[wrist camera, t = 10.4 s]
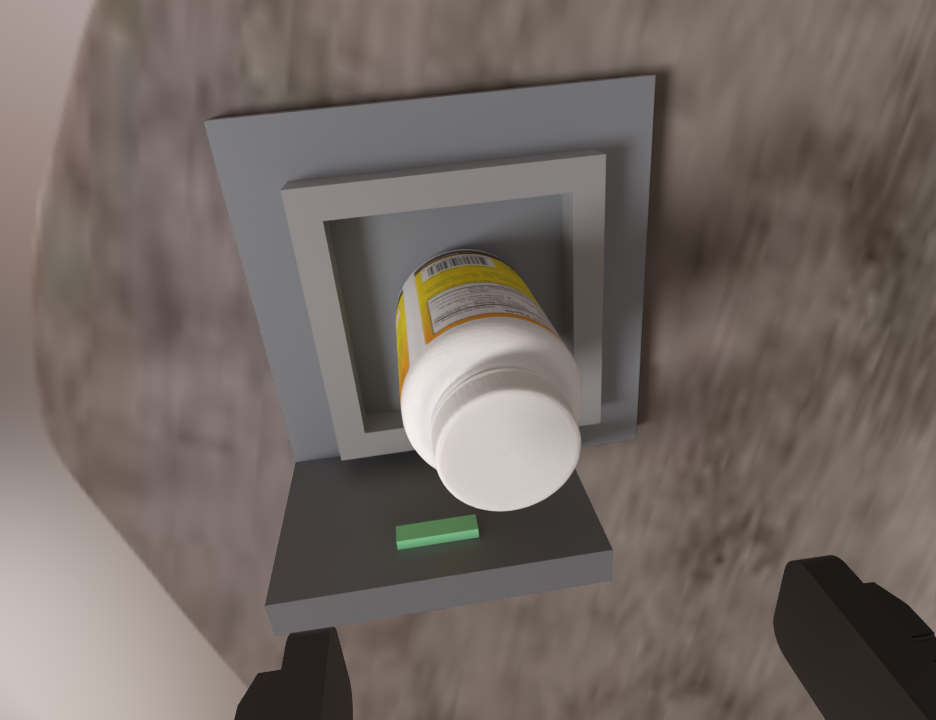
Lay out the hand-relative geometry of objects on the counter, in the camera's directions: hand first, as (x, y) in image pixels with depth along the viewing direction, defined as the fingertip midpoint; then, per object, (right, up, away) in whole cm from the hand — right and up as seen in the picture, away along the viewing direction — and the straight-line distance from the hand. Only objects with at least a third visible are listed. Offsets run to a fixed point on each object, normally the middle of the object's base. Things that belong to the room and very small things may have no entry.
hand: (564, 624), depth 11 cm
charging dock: (-2, +7, +15) cm, 17 cm away
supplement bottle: (-2, +7, +14) cm, 16 cm away
